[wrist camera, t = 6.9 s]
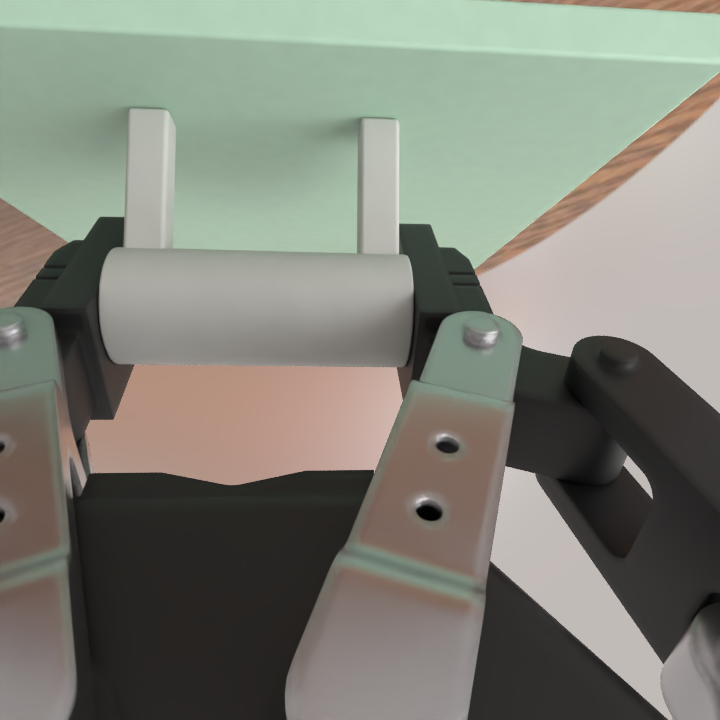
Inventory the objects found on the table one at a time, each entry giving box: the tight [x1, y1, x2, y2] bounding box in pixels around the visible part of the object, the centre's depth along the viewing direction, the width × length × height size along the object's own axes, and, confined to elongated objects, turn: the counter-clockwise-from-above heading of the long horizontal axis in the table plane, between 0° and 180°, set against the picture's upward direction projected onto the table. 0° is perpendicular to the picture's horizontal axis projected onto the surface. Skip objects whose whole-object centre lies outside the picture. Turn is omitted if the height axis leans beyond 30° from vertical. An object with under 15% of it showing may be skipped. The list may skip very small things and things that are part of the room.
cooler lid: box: [0, 0, 720, 367], centre depth 17 cm, size 18×14×5 cm
